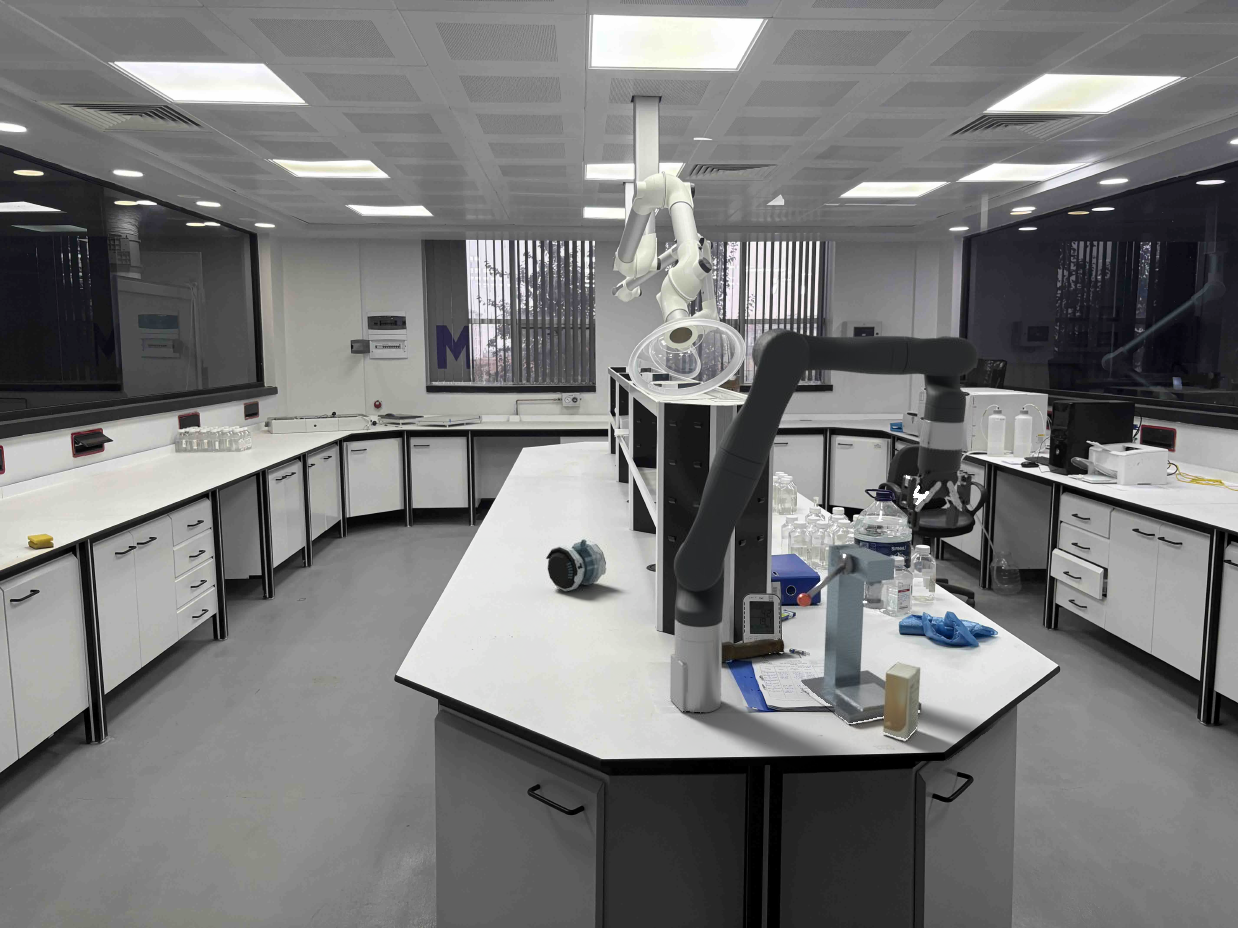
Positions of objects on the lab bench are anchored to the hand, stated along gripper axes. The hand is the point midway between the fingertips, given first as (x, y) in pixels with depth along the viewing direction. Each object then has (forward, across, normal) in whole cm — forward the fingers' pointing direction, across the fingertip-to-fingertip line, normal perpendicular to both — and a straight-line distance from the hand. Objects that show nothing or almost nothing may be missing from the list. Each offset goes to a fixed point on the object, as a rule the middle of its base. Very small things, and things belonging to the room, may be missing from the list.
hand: (932, 528), depth 153 cm
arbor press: (+36, -14, +3) cm, 38 cm away
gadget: (+42, -45, +94) cm, 112 cm away
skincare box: (+35, -12, -11) cm, 39 cm away
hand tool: (+38, -22, +30) cm, 53 cm away
